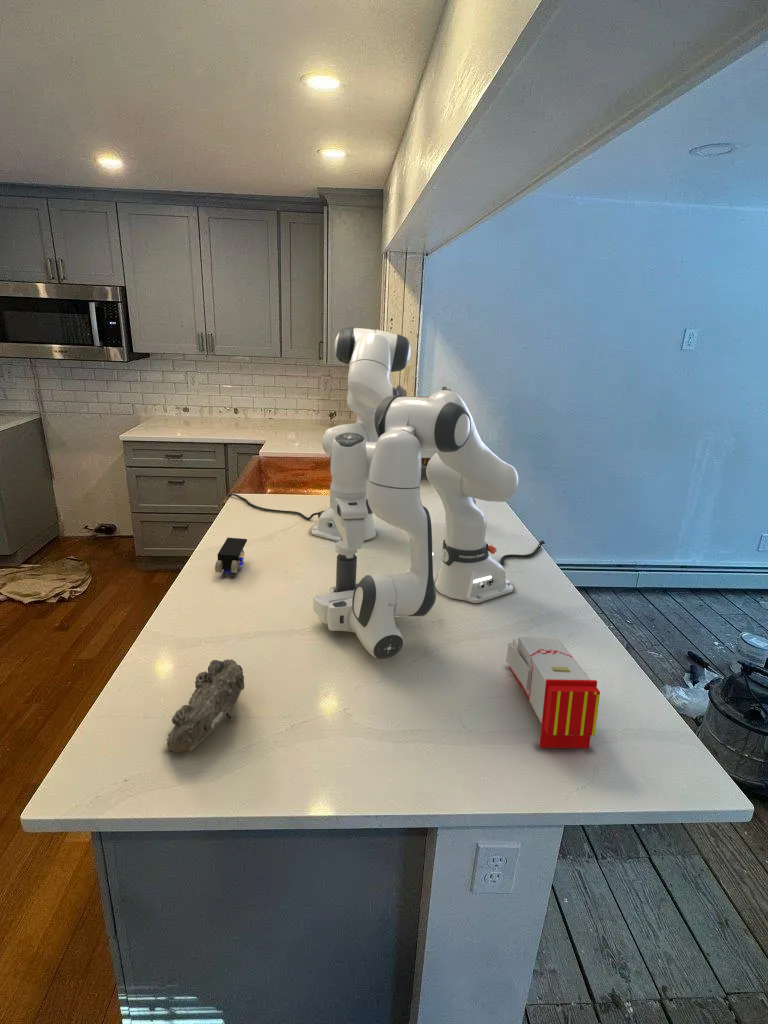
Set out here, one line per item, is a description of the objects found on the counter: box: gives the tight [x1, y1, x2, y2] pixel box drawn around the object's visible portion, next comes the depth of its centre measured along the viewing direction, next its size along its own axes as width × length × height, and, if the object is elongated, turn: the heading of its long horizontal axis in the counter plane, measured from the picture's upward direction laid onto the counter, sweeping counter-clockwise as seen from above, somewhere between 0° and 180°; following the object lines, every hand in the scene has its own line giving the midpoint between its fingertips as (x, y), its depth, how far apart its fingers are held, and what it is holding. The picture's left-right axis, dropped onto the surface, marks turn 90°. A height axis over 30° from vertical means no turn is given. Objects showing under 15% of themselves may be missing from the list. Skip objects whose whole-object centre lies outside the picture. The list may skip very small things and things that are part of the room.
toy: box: [505, 636, 601, 749], centre depth 115 cm, size 12×13×30 cm
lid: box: [335, 540, 358, 555], centre depth 144 cm, size 6×6×2 cm
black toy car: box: [214, 537, 248, 578], centre depth 166 cm, size 7×8×15 cm
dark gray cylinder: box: [335, 554, 358, 592], centre depth 147 cm, size 5×5×16 cm
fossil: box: [166, 658, 245, 754], centre depth 106 cm, size 22×10×15 cm
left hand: (346, 551), depth 144 cm, fingers closed on lid, 5 cm apart
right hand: (344, 587), depth 148 cm, fingers closed on dark gray cylinder, 5 cm apart
